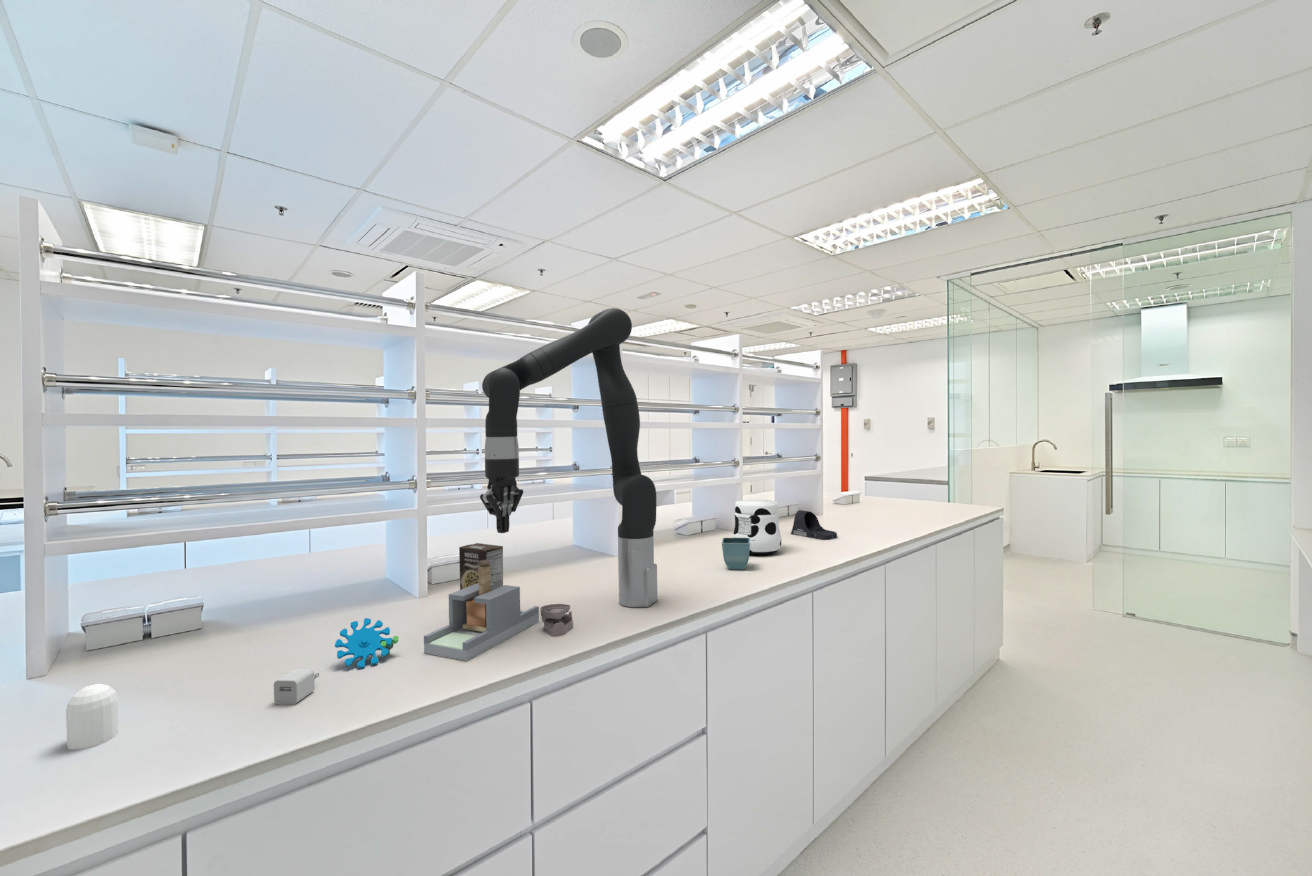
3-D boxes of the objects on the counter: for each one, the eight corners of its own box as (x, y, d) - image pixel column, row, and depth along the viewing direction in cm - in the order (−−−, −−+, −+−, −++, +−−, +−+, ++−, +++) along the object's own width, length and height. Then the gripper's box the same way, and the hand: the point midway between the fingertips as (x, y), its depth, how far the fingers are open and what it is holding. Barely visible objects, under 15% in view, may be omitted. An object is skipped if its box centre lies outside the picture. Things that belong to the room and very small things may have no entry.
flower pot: (721, 571, 173) (721, 542, 173) (723, 564, 182) (722, 537, 182) (750, 571, 172) (750, 543, 171) (750, 565, 180) (749, 537, 180)
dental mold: (554, 621, 129) (554, 600, 129) (579, 626, 126) (579, 604, 126) (533, 633, 122) (532, 610, 122) (558, 638, 119) (558, 615, 119)
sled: (507, 621, 123) (506, 558, 123) (486, 632, 116) (485, 566, 116) (484, 618, 125) (483, 556, 125) (462, 628, 119) (461, 563, 119)
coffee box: (459, 611, 138) (457, 546, 138) (478, 603, 144) (477, 542, 144) (486, 616, 134) (484, 550, 134) (504, 608, 140) (503, 544, 139)
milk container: (778, 547, 207) (777, 499, 207) (784, 557, 190) (784, 505, 190) (731, 546, 209) (731, 499, 208) (733, 557, 191) (733, 505, 191)
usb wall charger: (274, 704, 92) (273, 680, 92) (302, 685, 99) (302, 662, 99) (297, 704, 91) (296, 680, 91) (324, 685, 98) (323, 662, 98)
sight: (825, 541, 218) (825, 515, 217) (789, 534, 232) (789, 510, 232) (840, 538, 223) (839, 513, 223) (804, 531, 238) (804, 508, 238)
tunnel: (539, 621, 130) (538, 578, 130) (466, 661, 108) (465, 610, 107) (501, 615, 134) (500, 574, 134) (424, 653, 112) (423, 603, 112)
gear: (330, 666, 102) (339, 616, 109) (330, 680, 106) (339, 631, 113) (396, 663, 107) (400, 615, 114) (393, 677, 110) (398, 629, 117)
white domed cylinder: (59, 745, 80) (57, 691, 80) (106, 727, 85) (104, 675, 85) (79, 752, 78) (77, 696, 78) (126, 733, 83) (125, 680, 83)
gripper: (496, 458, 119) (497, 538, 119) (532, 455, 131) (534, 528, 131) (468, 458, 122) (470, 536, 122) (507, 455, 134) (508, 526, 134)
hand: (503, 532), depth 127 cm, fingers closed
